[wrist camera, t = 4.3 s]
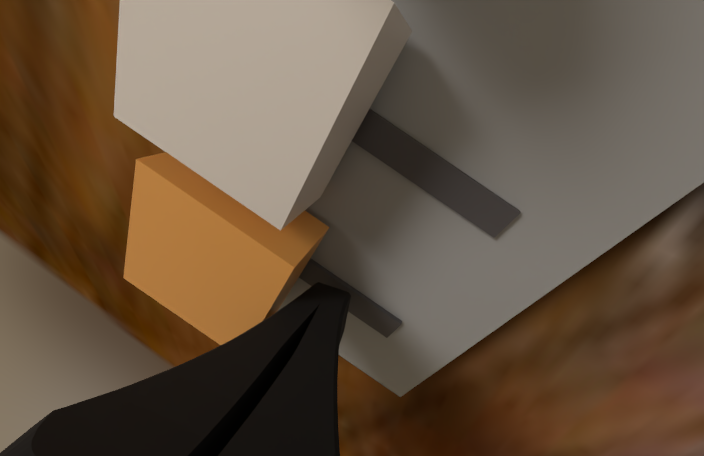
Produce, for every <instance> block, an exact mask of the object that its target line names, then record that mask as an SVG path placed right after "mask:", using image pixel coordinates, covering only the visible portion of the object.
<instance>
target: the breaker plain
mask: <svg viewBox="0 0 704 456" xmlns="http://www.w3.org/2000/svg"><path fill="white" fill-rule="evenodd" d="M411 33H412V30H411V28H410V27H409V25H408V24H407V22H406V20H405V19H404V17H403V16H402V14H401V13H400V11H399V9H398V8H397V6H396V5H395V3H394V2H393V1H391V0H120V8H119V27H118V46H117V64H116V83H115V102H114V117H116V118H117V119H119V120H120V121H121V122H123V123H124V124H126V125H127V126H129V127H130V128H132V129H133V130H135V131H136V132H137V133H139V134H140V135H142V136H143V137H145V138H146V139H148V140H149V141H151V142H152V143H154V144H155V145H156V146H158V147H159V148H161V149H162V150H164V151H165V152H167V153H168V154H170V155H171V156H172V157H174V158H175V159H177V160H178V161H180V162H181V163H183V164H184V165H186V166H187V167H188V168H190V169H191V170H193V171H194V172H196V173H197V174H199V175H200V176H202V177H203V178H205V179H206V180H207V181H209V182H210V183H212V184H213V185H215V186H216V187H218V188H219V189H221V190H222V191H223V192H225V193H226V194H228V195H229V196H231V197H232V198H234V199H235V200H237V201H238V202H240V203H241V204H242V205H244V206H245V207H247V208H248V209H250V210H251V211H253V212H254V213H256V214H257V215H258V216H260V217H261V218H263V219H264V220H266V221H267V222H269V223H270V224H272V225H273V226H275V227H276V228H277V229H279V230H280V231H281V230H282V229H283V228H284V227H285V226H287V225H288V224H289V223H290V222H291V221H293V220H294V219H295V218H296V217H297V216H299V215H300V214H301V213H302V212H303V211H305V210H306V209H307V208H308V207H309V206H311V205H312V204H313V203H314V202H315V201H317V200H318V199H319V198H320V197H321V195H322V193H323V192H324V190H325V188H326V186H327V184H328V183H329V181H330V179H331V177H332V175H333V174H334V172H335V170H336V168H337V166H338V165H339V163H340V161H341V159H342V157H343V156H344V154H345V152H346V150H347V148H348V147H349V145H350V143H351V141H352V139H353V137H354V136H355V134H356V132H357V130H358V128H359V127H360V125H361V123H362V121H363V119H364V118H365V116H366V114H367V112H368V110H369V109H370V107H371V105H372V103H373V101H374V100H375V98H376V96H377V94H378V92H379V91H380V89H381V87H382V85H383V83H384V82H385V80H386V78H387V76H388V74H389V72H390V71H391V69H392V67H393V65H394V63H395V62H396V60H397V58H398V56H399V54H400V53H401V51H402V49H403V47H404V45H405V44H406V42H407V40H408V38H409V36H410V35H411Z"/></svg>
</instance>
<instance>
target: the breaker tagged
mask: <svg viewBox="0 0 704 456" xmlns="http://www.w3.org/2000/svg"><path fill="white" fill-rule="evenodd" d="M328 229H329V227H328V226H327V225H325V224H324V223H323V222H321V221H320V220H318V219H317V218H315V217H314V216H312V215H311V214H309V213H308V212H307V211H303V212H302V213H301V214H300V215H299V216H297V217H296V218H295V219H294V220H293V221H291V222H290V223H289V224H288V225H287V226H285V227H284V228H283V229H282V230H281V231H280V230H279V229H277V228H276V227H275V226H273V225H272V224H270V223H269V222H267V221H266V220H264V219H263V218H261V217H260V216H258V215H257V214H256V213H254V212H253V211H251V210H250V209H248V208H247V207H245V206H244V205H242V204H241V203H240V202H238V201H237V200H235V199H234V198H232V197H231V196H229V195H228V194H226V193H225V192H223V191H222V190H221V189H219V188H218V187H216V186H215V185H213V184H212V183H210V182H209V181H207V180H206V179H205V178H203V177H202V176H200V175H199V174H197V173H196V172H194V171H193V170H191V169H190V168H188V167H187V166H186V165H184V164H183V163H181V162H180V161H178V160H177V159H175V158H174V157H172V156H171V155H170V154H168V153H167V152H165V153H161V154H156V155H152V156H147V157H143V158H138V159H136V166H135V175H134V185H133V194H132V203H131V213H130V222H129V231H128V240H127V250H126V259H125V268H124V279H126V280H127V281H129V282H130V283H131V284H133V285H134V286H136V287H137V288H139V289H140V290H142V291H143V292H145V293H146V294H147V295H149V296H150V297H152V298H153V299H155V300H156V301H158V302H159V303H160V304H162V305H163V306H165V307H166V308H168V309H169V310H171V311H172V312H173V313H175V314H176V315H178V316H179V317H181V318H182V319H184V320H185V321H186V322H188V323H189V324H191V325H192V326H194V327H195V328H197V329H198V330H200V331H201V332H202V333H204V334H205V335H207V336H208V337H210V338H211V339H213V340H214V341H215V342H217V343H218V344H220V345H222V344H224V343H226V342H228V341H230V340H232V339H234V338H235V337H237V336H239V335H241V334H242V333H244V332H246V331H247V330H249V329H251V328H252V327H254V326H255V325H257V324H259V323H260V322H262V321H264V320H265V319H267V318H268V317H270V316H271V315H273V314H274V313H276V312H277V311H278V310H279V308H280V306H281V305H282V303H283V302H284V300H285V298H286V297H287V295H288V294H289V292H290V290H291V289H292V287H293V286H294V284H295V282H296V281H297V279H298V277H299V276H300V274H301V273H302V271H303V269H304V268H305V266H306V265H307V263H308V261H309V260H310V258H311V256H312V255H313V253H314V252H315V250H316V248H317V247H318V245H319V244H320V242H321V240H322V239H323V237H324V235H325V234H326V232H327V231H328Z"/></svg>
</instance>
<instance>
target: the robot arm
mask: <svg viewBox="0 0 704 456" xmlns="http://www.w3.org/2000/svg"><path fill="white" fill-rule="evenodd" d="M350 299H351V295H350V293H349V292H347V291H344V290H341V289H338V288H335V287H332V286H329V285H326V284H323V283H320V282H317V283H315V284H314V285H312V286H311V287H310V288H309V289H307V290H306V291H305V292H303V293H302V294H301V295H299V296H298V297H297V298H295V299H294V300H293V301H291V302H290V303H289V304H287V305H286V306H284V307H283V308H281V309H280V310H279V311H277V312H276V313H274V314H273V315H271V316H270V317H268V318H267V319H265V320H264V321H262V322H260V323H259V324H257V325H255V326H254V327H252V328H251V329H249V330H247V331H246V332H244V333H242V334H241V335H239V336H237V337H235V338H234V339H232V340H230V341H228V342H226V343H224V344H222V345H220V346H219V347H217V348H215V349H213V350H211V351H209V352H207V353H204V354H202V355H200V356H198V357H196V358H194V359H192V360H190V361H188V362H185V363H183V364H181V365H179V366H176V367H174V368H172V369H169V370H167V371H164V372H162V373H159V374H157V375H154V376H152V377H149V378H147V379H144V380H142V381H139V382H137V383H134V384H132V385H129V386H126V387H123V388H121V389H118V390H115V391H112V392H109V393H106V394H103V395H101V396H97V397H94V398H91V399H88V400H85V401H82V402H79V403H77V404H73V405H70V406H67V407H64V408H61V409H58V410H54V411H52V412H51V413H50V414H49V415H47V416H46V417H44V418H43V419H42V420H41V421H39V422H38V423H37V424H35V425H34V426H33V427H32V428H30V429H29V430H28V431H27V432H26V433H24V434H23V435H22V436H20V437H19V438H18V439H17V440H16V441H15V442H13V443H12V444H11V445H9V446H8V447H7V448H6V449H5V450H3V451H2V452H1V453H0V456H340V452H339V436H338V413H337V373H338V354H339V345H340V342H341V339H342V336H343V333H344V329H345V324H346V319H347V314H348V309H349V304H350Z"/></svg>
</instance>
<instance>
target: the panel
mask: <svg viewBox="0 0 704 456" xmlns="http://www.w3.org/2000/svg"><path fill="white" fill-rule="evenodd" d="M391 1H393V2H394V3H395V5H396V6H397V8H398V9H399V11H400V13H401V14H402V16H403V17H404V19H405V20H406V22H407V24H408V25H409V27H410V28H411V30H412V33H411V35H410V36H409V38H408V40H407V42H406V44H405V45H404V47H403V49H402V51H401V53H400V54H399V56H398V58H397V60H396V62H395V63H394V65H393V67H392V69H391V71H390V72H389V74H388V76H387V78H386V80H385V82H384V83H383V85H382V87H381V89H380V91H379V92H378V94H377V96H376V98H375V100H374V101H373V103H372V105H371V107H370V109H369V110H368V112H367V114H366V116H365V118H364V119H363V121H362V123H361V125H360V127H359V128H358V130H357V132H356V134H355V136H354V137H353V139H352V141H351V143H350V145H349V147H348V148H347V150H346V152H345V154H344V156H343V157H342V159H341V161H340V163H339V165H338V166H337V168H336V170H335V172H334V174H333V175H332V177H331V179H330V181H329V183H328V184H327V186H326V188H325V190H324V192H323V193H322V195H321V197H320V198H319V199H318V200H317V201H315V202H314V203H313V204H312V205H311V206H309V207H308V208H307V209H306V210H305V211H307V212H308V213H309V214H311V215H312V216H314V217H315V218H317V219H318V220H320V221H321V222H323V223H324V224H325V225H327V226H328V227H329V229H328V231H327V232H326V234H325V235H324V237H323V239H322V240H321V242H320V244H319V245H318V247H317V248H316V250H315V252H314V253H313V255H312V256H311V258H310V260H309V261H308V263H307V265H306V266H305V268H304V269H303V271H302V273H301V274H300V276H299V277H298V279H297V281H296V282H295V284H294V286H293V287H292V289H291V290H290V292H289V294H288V295H287V297H286V298H285V300H284V302H283V303H282V305H281V306H280V308H279V310H280V309H281V308H283V307H284V306H286V305H287V304H289V303H290V302H291V301H293V300H294V299H295V298H297V297H298V296H299V295H301V294H302V293H303V292H305V291H306V290H307V289H309V288H310V287H311V286H312V285H314V284H315V283H317V282H320V283H323V284H326V285H329V286H332V287H335V288H338V289H341V290H344V291H347V292H349V293H350V295H351V299H350V304H349V309H348V314H347V319H346V324H345V329H344V333H343V336H342V339H341V342H340V345H339V354H338V355H340V356H341V357H343V358H344V359H346V360H347V361H349V362H350V363H352V364H353V365H354V366H356V367H357V368H359V369H360V370H362V371H363V372H365V373H366V374H368V375H369V376H370V377H372V378H373V379H375V380H376V381H378V382H379V383H381V384H382V385H383V386H385V387H386V388H388V389H389V390H391V391H392V392H394V393H395V394H397V395H398V396H399V397H401V396H403V395H404V394H405V393H407V392H408V391H410V390H411V389H413V388H414V387H415V386H417V385H418V384H420V383H421V382H422V381H424V380H425V379H427V378H428V377H429V376H431V375H432V374H434V373H435V372H437V371H438V370H439V369H441V368H442V367H444V366H445V365H446V364H448V363H449V362H451V361H452V360H453V359H455V358H456V357H458V356H459V355H461V354H462V353H463V352H465V351H466V350H468V349H469V348H470V347H472V346H473V345H475V344H476V343H477V342H479V341H480V340H482V339H483V338H485V337H486V336H487V335H489V334H490V333H492V332H493V331H494V330H496V329H497V328H499V327H500V326H502V325H503V324H504V323H506V322H507V321H509V320H510V319H511V318H513V317H514V316H516V315H517V314H518V313H520V312H521V311H523V310H524V309H526V308H527V307H528V306H530V305H531V304H533V303H534V302H535V301H537V300H538V299H540V298H541V297H542V296H544V295H545V294H547V293H548V292H550V291H551V290H552V289H554V288H555V287H557V286H558V285H559V284H561V283H562V282H564V281H565V280H566V279H568V278H569V277H571V276H572V275H574V274H575V273H576V272H578V271H579V270H581V269H582V268H583V267H585V266H586V265H588V264H589V263H591V262H592V261H593V260H595V259H596V258H598V257H599V256H600V255H602V254H603V253H605V252H606V251H607V250H609V249H610V248H612V247H613V246H615V245H616V244H617V243H619V242H620V241H622V240H623V239H624V238H626V237H627V236H629V235H630V234H631V233H633V232H634V231H636V230H637V229H639V228H640V227H641V226H643V225H644V224H646V223H647V222H648V221H650V220H651V219H653V218H654V217H655V216H657V215H658V214H660V213H661V212H663V211H664V210H665V209H667V208H668V207H670V206H671V205H672V204H674V203H675V202H677V201H678V200H680V199H681V198H682V197H684V196H685V195H687V194H688V193H689V192H691V191H692V190H694V189H695V188H696V187H698V186H699V185H701V184H702V183H704V0H391ZM279 310H278V311H279Z"/></svg>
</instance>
